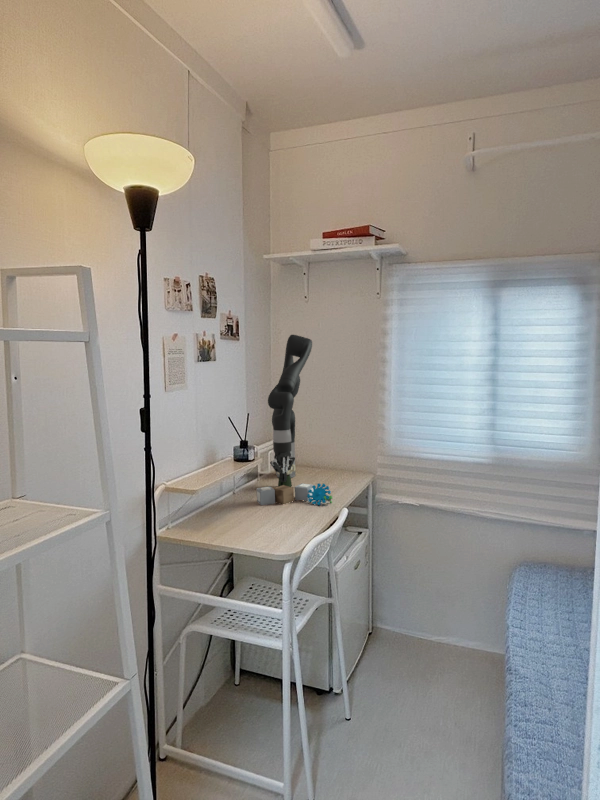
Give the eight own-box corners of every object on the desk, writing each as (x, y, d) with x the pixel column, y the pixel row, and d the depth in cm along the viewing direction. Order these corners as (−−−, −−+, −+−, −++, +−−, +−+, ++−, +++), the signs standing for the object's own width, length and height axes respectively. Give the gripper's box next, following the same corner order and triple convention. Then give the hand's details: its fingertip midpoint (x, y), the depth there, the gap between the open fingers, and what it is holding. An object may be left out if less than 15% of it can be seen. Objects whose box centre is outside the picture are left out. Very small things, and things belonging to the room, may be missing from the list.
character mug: (270, 488, 243) (269, 460, 242) (278, 484, 250) (277, 457, 248) (291, 491, 238) (291, 462, 237) (299, 487, 245) (298, 459, 243)
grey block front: (256, 501, 224) (256, 487, 223) (270, 499, 226) (270, 486, 226) (261, 505, 218) (260, 491, 218) (275, 503, 221) (274, 489, 220)
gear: (302, 499, 219) (314, 479, 224) (307, 506, 223) (319, 486, 228) (324, 507, 213) (336, 486, 217) (329, 514, 217) (340, 494, 221)
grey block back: (295, 500, 225) (294, 486, 224) (301, 496, 230) (301, 482, 229) (308, 502, 222) (307, 487, 221) (314, 498, 227) (314, 484, 226)
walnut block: (273, 502, 223) (273, 488, 222) (283, 498, 227) (283, 485, 226) (283, 504, 219) (283, 490, 218) (293, 501, 223) (293, 487, 222)
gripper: (277, 443, 213) (278, 486, 214) (299, 438, 222) (300, 479, 224) (264, 441, 218) (265, 483, 219) (286, 437, 227) (288, 477, 229)
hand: (283, 481), depth 222 cm, fingers closed
